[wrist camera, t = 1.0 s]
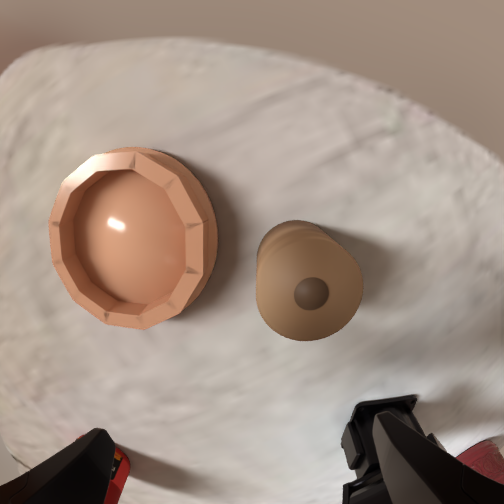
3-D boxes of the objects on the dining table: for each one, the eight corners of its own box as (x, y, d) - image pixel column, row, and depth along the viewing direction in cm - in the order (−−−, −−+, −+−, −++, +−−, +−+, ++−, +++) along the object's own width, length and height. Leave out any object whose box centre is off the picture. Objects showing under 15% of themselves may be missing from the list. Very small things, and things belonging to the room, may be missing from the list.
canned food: (128, 446, 24) (97, 519, 14) (135, 476, 26) (113, 539, 16) (71, 423, 24) (32, 486, 14) (84, 457, 26) (55, 513, 15)
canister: (414, 493, 28) (441, 567, 11) (460, 445, 25) (505, 528, 8) (462, 478, 28) (491, 538, 11) (504, 432, 25) (546, 494, 8)
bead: (336, 222, 18) (370, 242, 12) (328, 295, 19) (353, 341, 13) (258, 218, 18) (258, 236, 12) (255, 293, 19) (253, 340, 13)
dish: (221, 145, 17) (215, 139, 14) (218, 324, 20) (212, 343, 17) (64, 155, 17) (43, 155, 15) (75, 307, 20) (58, 321, 18)
